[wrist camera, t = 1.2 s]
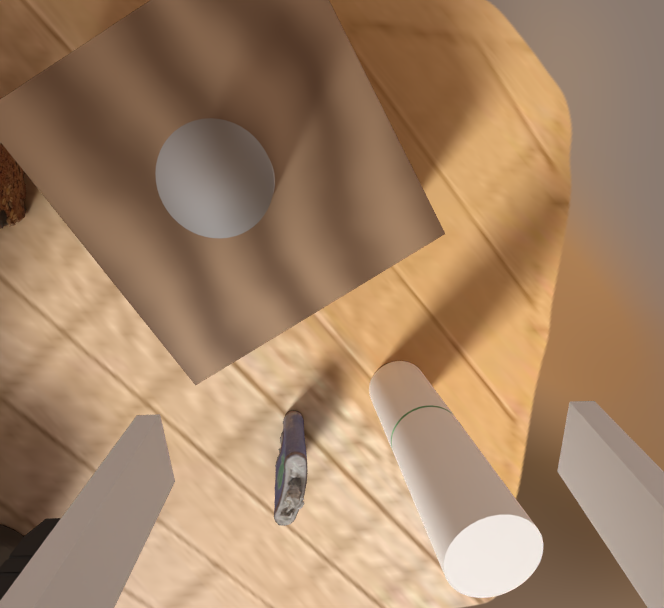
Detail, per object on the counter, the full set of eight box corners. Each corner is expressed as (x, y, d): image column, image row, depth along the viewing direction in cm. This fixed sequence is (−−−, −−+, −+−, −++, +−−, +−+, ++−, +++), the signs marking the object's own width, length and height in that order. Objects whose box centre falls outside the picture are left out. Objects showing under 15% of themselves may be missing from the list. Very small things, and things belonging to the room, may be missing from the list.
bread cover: (216, 332, 48) (165, 460, 27) (68, 133, 41) (-171, 82, 19) (401, 218, 47) (507, 255, 25) (282, -7, 40) (288, -228, 18)
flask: (284, 408, 52) (286, 464, 42) (308, 411, 53) (316, 467, 43) (272, 472, 55) (271, 540, 44) (295, 474, 55) (299, 542, 45)
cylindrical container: (387, 423, 55) (473, 613, 31) (358, 382, 52) (424, 552, 29) (435, 392, 54) (559, 561, 30) (407, 349, 52) (516, 496, 28)
